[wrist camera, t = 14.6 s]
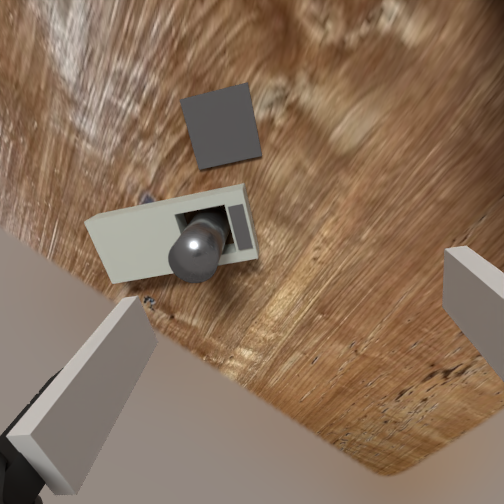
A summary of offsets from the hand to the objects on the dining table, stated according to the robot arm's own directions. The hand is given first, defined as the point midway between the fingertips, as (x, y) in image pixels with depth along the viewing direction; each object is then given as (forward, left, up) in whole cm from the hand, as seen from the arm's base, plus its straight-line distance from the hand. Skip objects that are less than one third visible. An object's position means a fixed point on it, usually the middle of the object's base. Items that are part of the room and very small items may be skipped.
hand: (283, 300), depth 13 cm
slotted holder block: (+3, -12, -23) cm, 26 cm away
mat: (-7, -4, -23) cm, 24 cm away
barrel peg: (+3, -8, -23) cm, 24 cm away
